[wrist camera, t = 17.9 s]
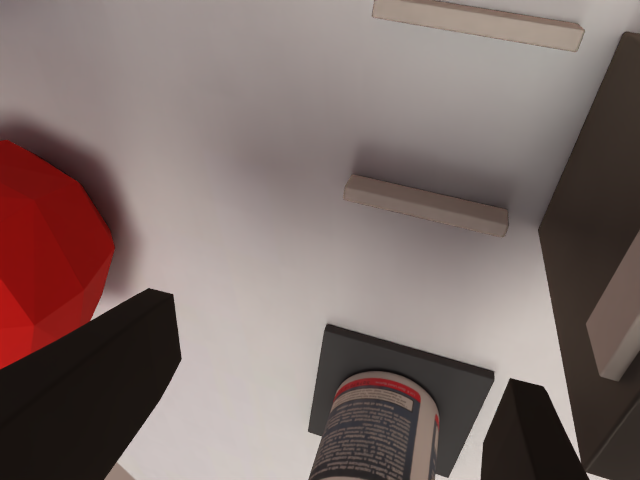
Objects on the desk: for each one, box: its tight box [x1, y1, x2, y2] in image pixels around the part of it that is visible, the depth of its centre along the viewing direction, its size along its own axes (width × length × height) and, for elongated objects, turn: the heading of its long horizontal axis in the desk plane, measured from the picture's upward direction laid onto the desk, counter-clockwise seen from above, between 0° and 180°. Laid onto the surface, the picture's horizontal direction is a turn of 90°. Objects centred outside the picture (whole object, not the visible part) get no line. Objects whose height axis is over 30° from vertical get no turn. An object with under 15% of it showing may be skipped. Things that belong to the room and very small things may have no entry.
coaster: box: [308, 325, 494, 478], centre depth 25 cm, size 8×8×1 cm
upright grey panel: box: [343, 0, 640, 480], centre depth 13 cm, size 9×7×10 cm
